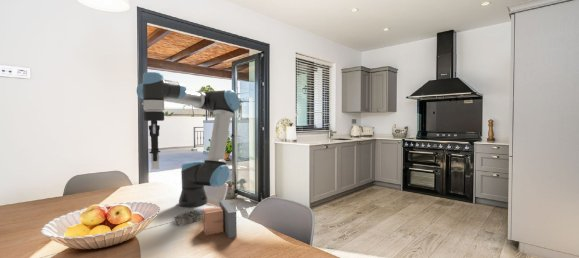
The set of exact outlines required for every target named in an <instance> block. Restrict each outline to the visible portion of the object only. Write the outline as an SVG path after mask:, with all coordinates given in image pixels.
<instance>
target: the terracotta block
mask: <svg viewBox="0 0 579 258" xmlns="http://www.w3.org/2000/svg"><path fill="white" fill-rule="evenodd" d="M202 218H203V219H202V222H203V223H202V224H203V225H202V228H203V229H202V230H203V232H204V235H205V236H211V235H215V233H216V234H220V232H222V233H224V229H223V210H222V209H221V207H220V206H213V207H208V208H203V209H202Z"/></svg>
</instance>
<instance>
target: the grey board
mask: <svg viewBox="0 0 579 258" xmlns="http://www.w3.org/2000/svg"><path fill="white" fill-rule="evenodd" d="M219 207H221V209H222V210H223V231H224V232H225V234H226V235H227V237H228V239H232V238H237V236H238V235H237V233H238V232H237V211H236V209H234V207H233V206H232V205H231V203H230V202H229V201H228V199H221V200H219Z"/></svg>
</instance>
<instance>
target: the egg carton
mask: <svg viewBox="0 0 579 258" xmlns="http://www.w3.org/2000/svg"><path fill="white" fill-rule="evenodd" d="M201 215H202V213H200V212H199V211H197V210H195V209H191V210H190V211H185V212H182V213H177V214H175V215H174V216H173V218H174V223H175V224H178V226H184V225H186V224H192V223H193V222H194V221H195V222H196V221H197V222H198V221H199V220H201V219H200V218H201Z"/></svg>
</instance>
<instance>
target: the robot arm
mask: <svg viewBox="0 0 579 258" xmlns="http://www.w3.org/2000/svg"><path fill="white" fill-rule="evenodd" d="M136 95H137V96H138V98H140V99H141V100H143V102H141V105H142V106H143V110H144V111H143V121H145V122H150V125H148V131H149V137H150V146H151V148H150V151H149V154H150V155H151V157H150V158H151V159H150V160H151V161H150V162H151V170H159V169H160V155H159V153H161V150H159V136H160V125H159V124H158V122H163V121H164V120H165V112H164V111H165V102H169V103H175V104H180V105H187V106H192V107H194V108H195V109H198V110H199V109H200V110H206V111H210V112H212V113H213V114H214V120H213V125H212V131H211V137H210V143H209V150H208V156H207V157H206V158H205V159H204V160H196V161H195V160H194V161H188V162H185V163H182V165H181V170H180V173H181V193H180V195H179V199H178V206H180V207H183V208H184V207H185V208H191V207H192V208H193V207H199V206H202V205H206V204H207V203H208V201H209V200H208V195H207V192H206V190H205V187H213V188H216V187H217V188H219V187H223V186H225V184H226V183H227V182H228V180H229V178H230V168H229V167H228V166H227V161H226V160H225V156H226V150H227V144H228V143H227V142H228V136H229V130H230V124H231V119H232V117H234V115H235V112H236V111H238V110H239V109H240V98H239V95H238V94H237V92H236V91H234V90H230V89H229V90H228V89H226V90H210V91H199V90H195V91H191V90H187V87H186V85H185V84H184V83H183V82H181V81H175V80H167V79H165V77H164V74H162V73H161V72H156V71H155V72H154V71H149V72H148V71H146V72H143V74H142V82H141V83H139V84H138V85H137V87H136Z"/></svg>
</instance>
